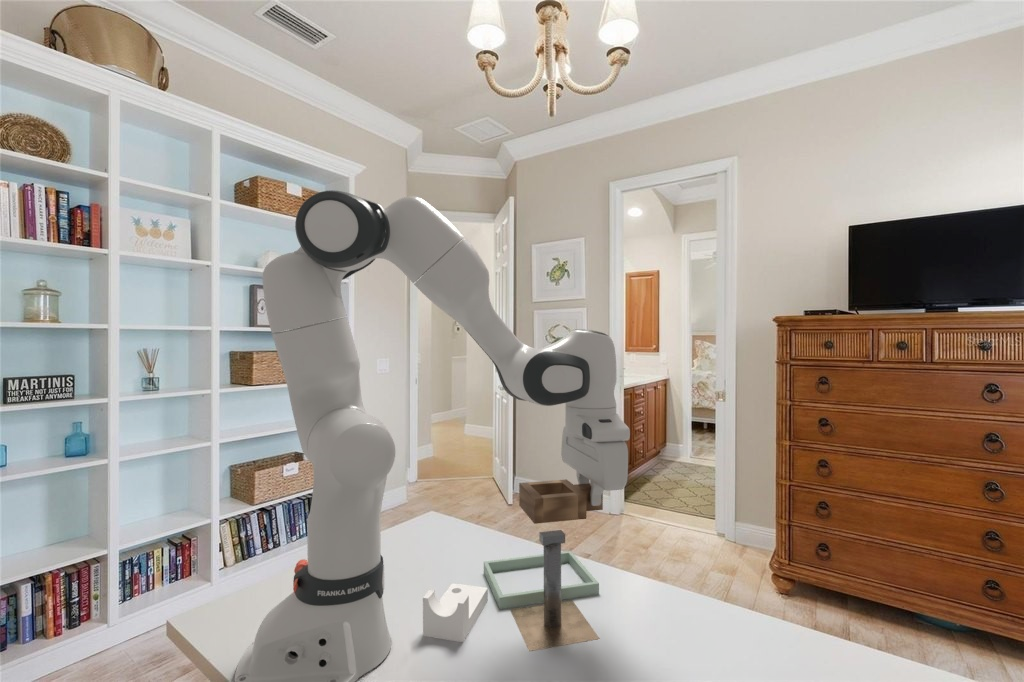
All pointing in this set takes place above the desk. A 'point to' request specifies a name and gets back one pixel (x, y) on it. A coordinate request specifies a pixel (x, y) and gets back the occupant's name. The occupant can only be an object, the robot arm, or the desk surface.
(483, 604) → the bracket
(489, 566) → the sage tray
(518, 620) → the post stand
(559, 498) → the walnut collar
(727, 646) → the desk surface
